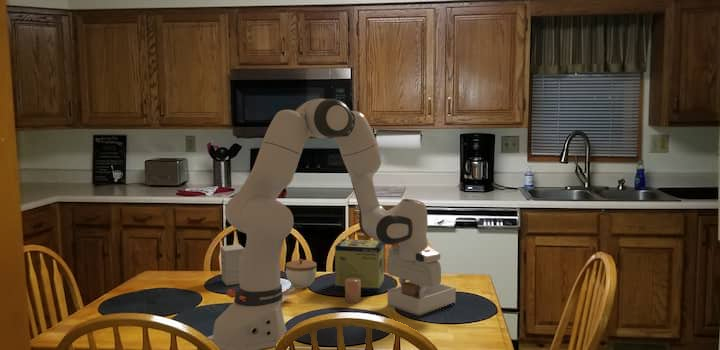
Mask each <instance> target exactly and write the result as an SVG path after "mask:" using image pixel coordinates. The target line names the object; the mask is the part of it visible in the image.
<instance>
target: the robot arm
mask: <svg viewBox="0 0 720 350" xmlns="http://www.w3.org/2000/svg"><path fill="white" fill-rule="evenodd" d="M371 127H372V126H371V125H370V123H369V122H368V120H367V118H366V117H365V115H364V114H363V113H362V112H360V111H357V110H356V111H355V110H351V109H350V108H349V107H348V106H347V105H346V104H345V103H344V102H343V101H341V100H339V99H336V98H315V99H314V98H313V99H310V100H305V101H303V102H302V103H301V102H300V104H299V105H297V106H296V107H295V108H294V109H282V110H280V111H278V112H276V114H275V115H274V117H273V119H272V120H271V122H270V124H269V126H268V128H267V130H266V132H265V135H264V137H263V139H262V142H261V144H260V145H261V146H260V147H259V151H258V152H257V153H258V154H257V156H256V159H255V162H254V164H253V167H252V169H251V171H250V173H249V175H248V176H247V178H246V179H245V181H244V183H243V184H242V186H241V188H240V189H239V191H238V192H237V193H236V194H234V196H232V197H231V198H230V199H229V200H228V202H227V203H226V205H225V210H224V211H225V213H224V214H225V218H226V220H227V222H228V223H229V224H230V225H231V226H232V227H233V228H234V229H235V230H237V231H238V232H240V233H244V234H246V243H245V247H244V248H245V250H244V253H243V254H242V255H241V257H240V259H239V280H240V284H239V285H238V288H237V290H236V291H235V290H234V289H231V288H230V289H229V288H228V290H227V291H226V296H227V297H229V298H231V299H234V300H233V302H232V303H231V304H230V305H229V306H228V307H227V308H226V309H225V310H224V311H223V312H222V313H221V314H220V315H219V316H218V317H217V318H216V319H215V321H214V325H213V329H212V330H213V331H212V332H213V333H212V335H209V336H207V337H206V338H208V339H210V340H211V341H212V342H213V343H214V344H215V345H216V346H217V347H218V348H219V350H263V349H268V348H273V347H277V346H276V344H277V343H278V341H279V340H280V338H281V337H282V336H283V335H284V334H285V333H286V332H287V333H288V330H287V327H286V324H285V320H284V314H283V305H282V302H283V301H282V300H283V285H282V284H281V256H282V255H281V254H282V249H283V246H284V243H285V240H286V238H287V237H288V236H289V235H290V233H291V232H292V230H293V227H294V215H293V213H292V211H291V209H290V208H289V207H287V206H286V205H285V204H284V203H282V202H280V201H279V200H278V197H279V196H280V194H281V193H282V191H283V190H284V189H286V188H287V187H289V185H290V184H291V183H292V182H293V178H294V176H295V173H296V170H297V167H298V164H299V161H300V158H301V155H302V153H303V150H304V145H305V144H306V143H307V140H308V139H309V138H317V139H329V138H330V139H333V140H334V141H335V142H336V143H337V144H336V145H338V149H339V152H340V156H341V158H342V160H343V163H344V165H345V168H346V170H347V172H348V176H349V178H350V181H351V185H352V188H353V189H352V190H353V191H354V195H355V199H356V203H357V205H358V210H359V214H358V225H359V229H360V232H361V233H362V234H363V235H364V236H366V237H367V238H370V239H373V240H377V241H379V242H381V243H383V244H384V245H388V246H389V245H390V246H391V245H393V246H392V247H390V248H389V250H388V256H387V262H386V272H387V274H388V276H392V277H396V278H398V283H400V286H401V287H402V283H406V282H407V281H408V282H409V281H412V282H415V283H419V287H420V290H419V291H417V297H420V298H421V297H424V291H425V289H426V287H427V286H429V287H436V286H438V285H439V284H442V283H441V282H442V268H441V264H440V261H439V260H440V259H441V254H440V253H439V252H438V251H436V250H435V249H434V248H432V247H431V246H430V245H429V244H428V238H427V231H428V227H429V226H428V223H429V222H428V220H429V219H428V211H427V206H426V204H425V203H424V202H422V201H421V200H417V199H412V198H404V199H401V201H400V202H399V203H397V204H396V205H395V206H393V207H392V208H389V209H387V210H386V209H385V208H384V207H383V206H382V205H381V204H380V202H379V200H378V196H377V193H376V189H375V186H374V182H373V177H374V175H375V174H376V173H377V172H378V170H379V169H380V167H381V165H382V158H381V157H382V156H381V152H380V148H379V144H378V142H377V139H376V136H375V134H374V132H373V129H372V128H371ZM395 244H398V247H397V246H395Z"/></svg>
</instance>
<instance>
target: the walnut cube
mask: <svg viewBox="0 0 720 350" xmlns="http://www.w3.org/2000/svg"><path fill="white" fill-rule="evenodd" d="M419 290H420V287H419V283H415V282H412V281H409V280H408V281H406V283H402V287H401V293H402V294H405V295H408V296H411V297H414V298H417V299H419V298H420V297H417V291H419ZM421 298H422V297H421Z"/></svg>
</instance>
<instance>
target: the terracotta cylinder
mask: <svg viewBox="0 0 720 350" xmlns="http://www.w3.org/2000/svg"><path fill="white" fill-rule="evenodd" d="M361 292H362V291H361V280H360V279H358V278H348V279H345V290H344V302H345V303H346V304H350V305H355V304H359V303H361V302H362V301H361V300H362V296H361V294H362V293H361Z"/></svg>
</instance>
